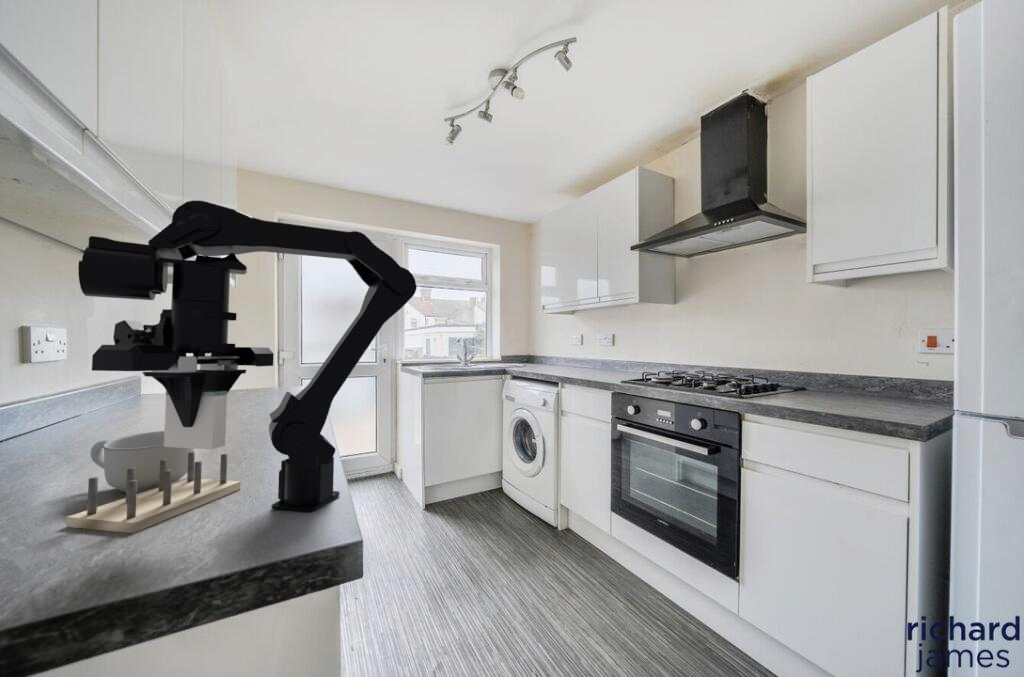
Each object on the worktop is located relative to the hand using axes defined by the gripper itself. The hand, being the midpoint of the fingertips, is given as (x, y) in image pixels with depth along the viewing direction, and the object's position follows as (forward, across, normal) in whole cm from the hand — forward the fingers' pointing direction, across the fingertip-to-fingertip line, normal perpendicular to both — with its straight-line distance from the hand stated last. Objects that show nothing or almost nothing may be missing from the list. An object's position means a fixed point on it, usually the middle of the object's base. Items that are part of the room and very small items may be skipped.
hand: (196, 425), depth 48 cm
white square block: (+3, 0, 0) cm, 3 cm away
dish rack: (+12, -4, -10) cm, 17 cm away
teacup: (+13, -10, -22) cm, 27 cm away
